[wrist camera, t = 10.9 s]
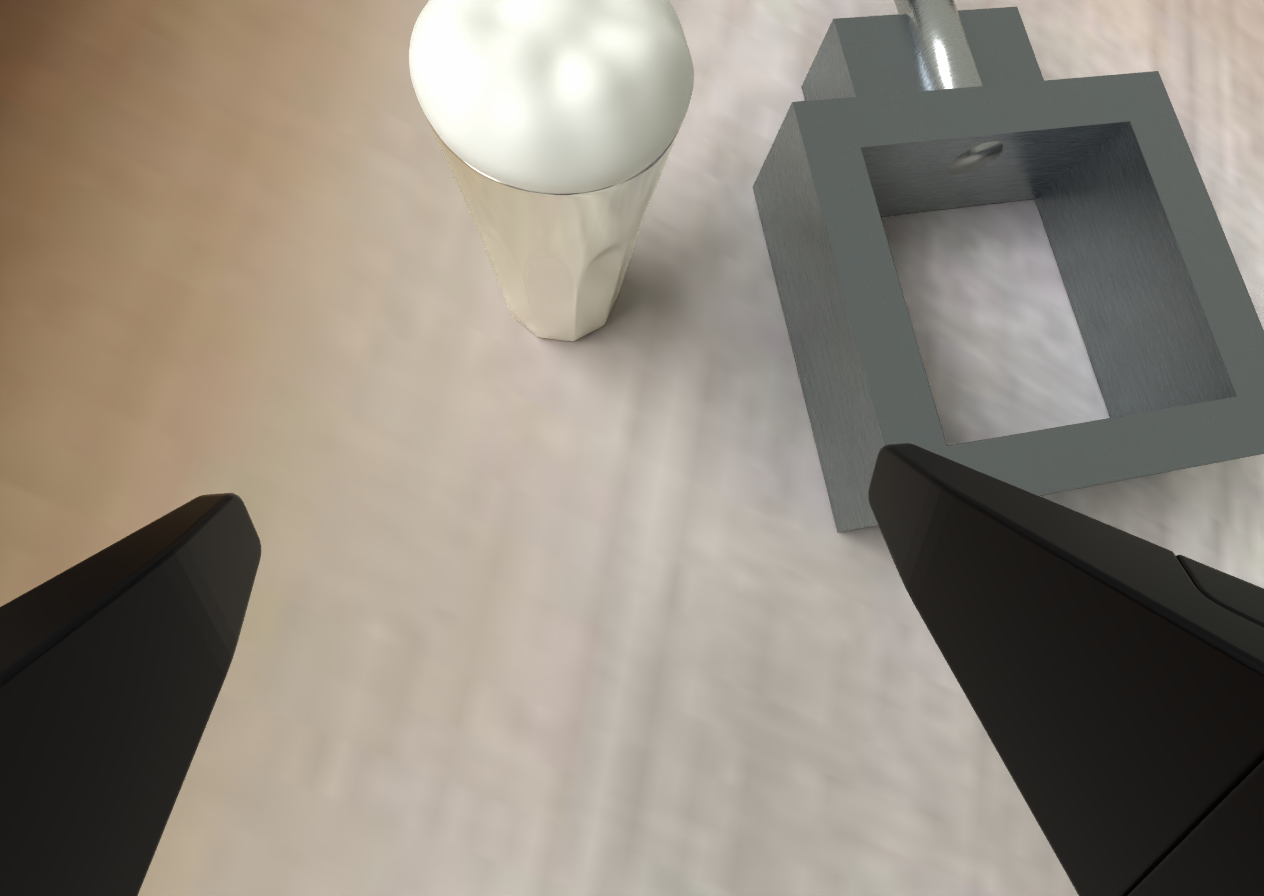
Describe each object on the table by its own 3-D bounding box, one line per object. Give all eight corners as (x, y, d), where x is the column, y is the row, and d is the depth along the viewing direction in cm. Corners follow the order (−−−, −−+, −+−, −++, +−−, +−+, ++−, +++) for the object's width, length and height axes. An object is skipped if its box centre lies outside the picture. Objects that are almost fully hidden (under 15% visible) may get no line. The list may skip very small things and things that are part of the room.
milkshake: (671, 236, 18) (785, -145, 9) (602, 389, 17) (644, 144, 7) (534, 176, 18) (495, -272, 9) (455, 325, 17) (304, -5, 7)
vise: (1173, 469, 18) (1310, 445, 15) (837, 532, 17) (904, 520, 14) (1008, 10, 22) (1090, -96, 18) (714, 29, 20) (743, -82, 17)
